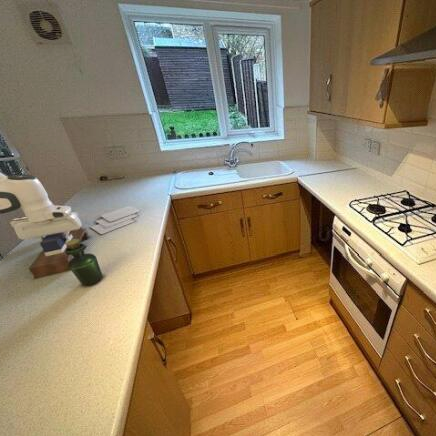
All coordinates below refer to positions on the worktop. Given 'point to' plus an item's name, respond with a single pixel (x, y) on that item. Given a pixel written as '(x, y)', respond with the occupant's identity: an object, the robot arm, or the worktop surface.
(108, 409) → the worktop surface
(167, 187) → the worktop surface
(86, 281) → the potion bottle
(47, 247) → the navy stepped box
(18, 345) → the worktop surface
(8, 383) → the worktop surface
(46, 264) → the wooden serving board
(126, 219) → the paper stack
